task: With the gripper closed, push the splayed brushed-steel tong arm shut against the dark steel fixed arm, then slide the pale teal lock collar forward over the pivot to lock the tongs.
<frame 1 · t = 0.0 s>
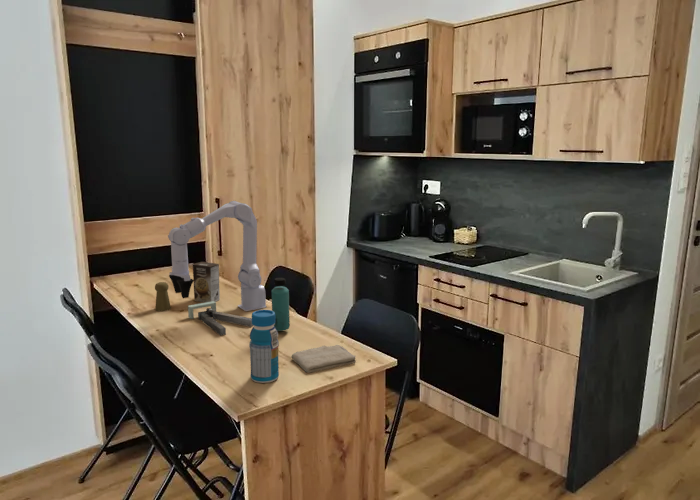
hand: (181, 295, 200), 10 cm above the table, fingers open, 7 cm apart
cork: (163, 309, 216), on the table
tong base: (205, 318, 206), on the table
beverage bottle: (280, 332, 193), on the table
coffee box: (207, 300, 227), on the table
beverage bottle 2: (264, 378, 156), on the table
washcloth: (324, 362, 169), on the table
lock collar: (202, 309, 207), point 2 cm above the table, slide at 0.0 cm
tong arm: (229, 317, 202), point 2 cm above the table, hinge at 28.0°
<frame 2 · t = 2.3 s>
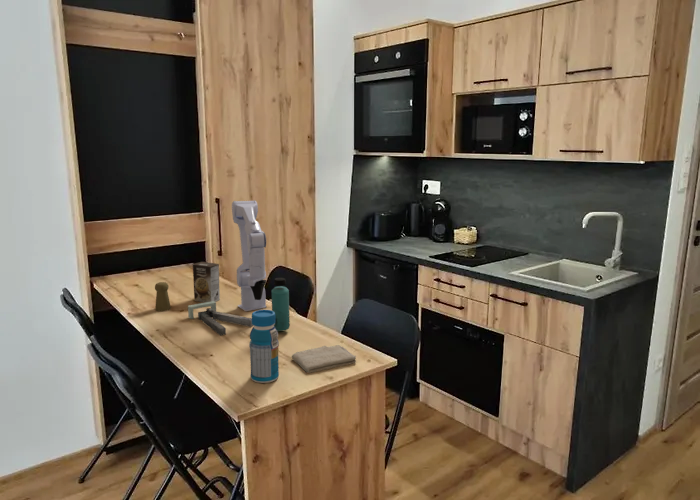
hand: (258, 299, 202), 8 cm above the table, fingers closed
nothing on the table moved.
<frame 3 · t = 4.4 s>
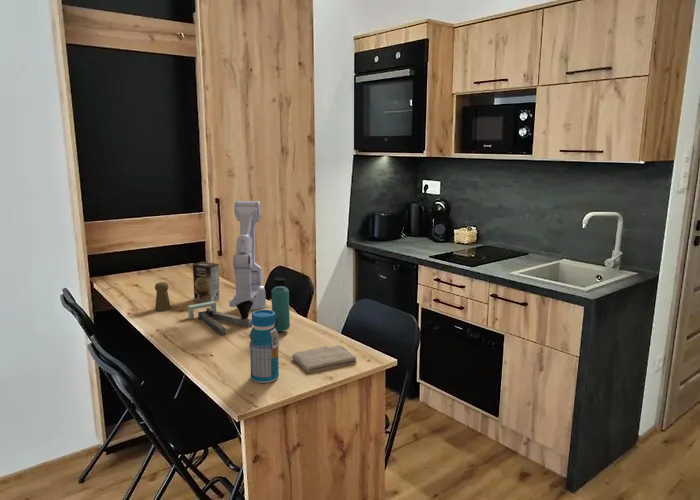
hand: (244, 320, 200), 1 cm above the table, fingers closed
tong arm: (228, 317, 201), point 2 cm above the table, hinge at 24.6°, touching gripper
everything else where it was.
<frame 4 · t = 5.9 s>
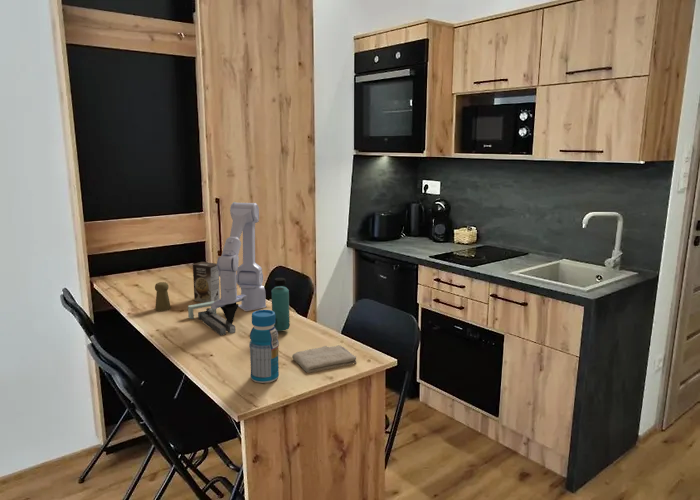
hand: (229, 323, 196), 1 cm above the table, fingers closed
tong arm: (219, 320, 199), point 2 cm above the table, hinge at 1.8°, touching gripper
everything else where it was.
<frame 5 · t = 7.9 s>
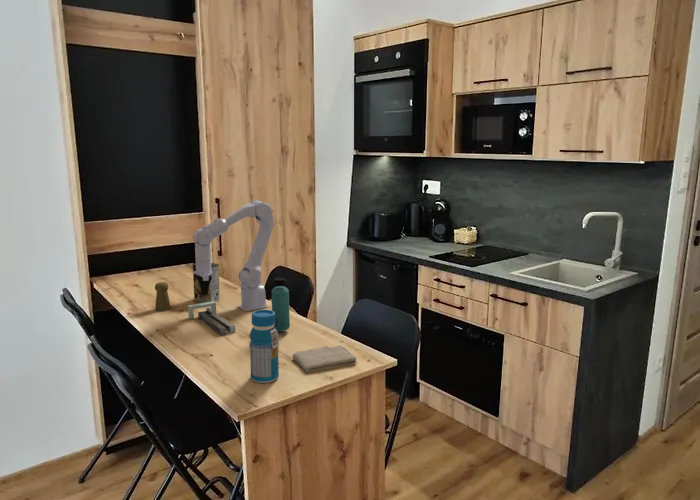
hand: (204, 293, 208), 8 cm above the table, fingers closed
tong arm: (219, 320, 199), point 2 cm above the table, hinge at 1.8°
everything else where it was.
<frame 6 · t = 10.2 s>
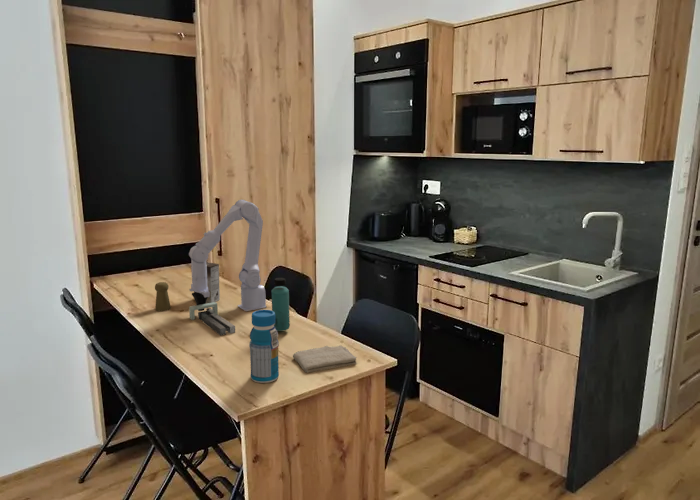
hand: (201, 310, 209), 2 cm above the table, fingers closed
lock collar: (203, 310, 206), point 2 cm above the table, slide at 1.3 cm, touching gripper
everything else where it was.
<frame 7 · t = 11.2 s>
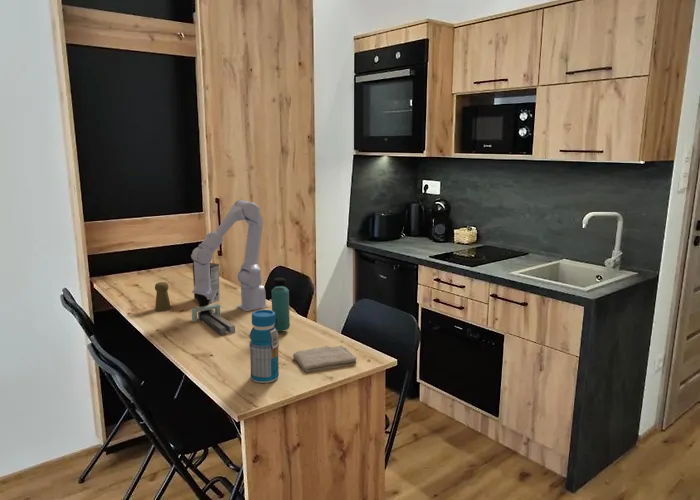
hand: (204, 312, 206), 2 cm above the table, fingers closed, pressing on tong base
lock collar: (206, 312, 204), point 2 cm above the table, slide at 3.9 cm, touching gripper
tong arm: (219, 320, 199), point 2 cm above the table, hinge at 1.6°, touching gripper
everything else where it was.
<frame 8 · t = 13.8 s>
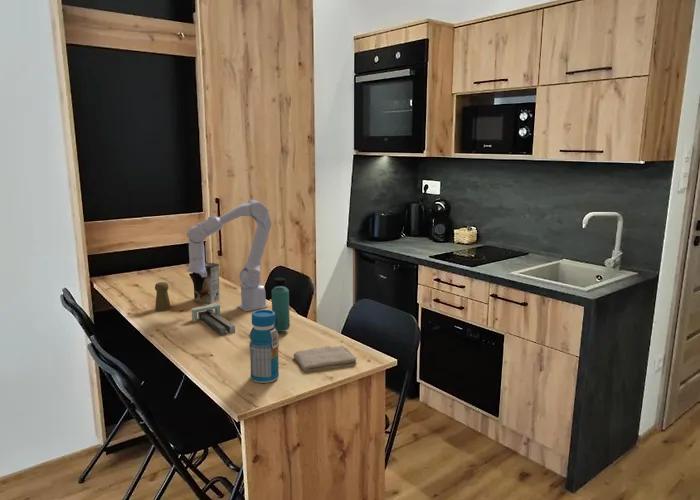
hand: (198, 291, 208), 9 cm above the table, fingers closed
lock collar: (206, 312, 204), point 2 cm above the table, slide at 3.9 cm
tong arm: (219, 320, 199), point 2 cm above the table, hinge at 1.7°
everything else where it was.
at the end: tong arm at +2° (first picture: +28°); lock collar slide at 3.9 cm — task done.
